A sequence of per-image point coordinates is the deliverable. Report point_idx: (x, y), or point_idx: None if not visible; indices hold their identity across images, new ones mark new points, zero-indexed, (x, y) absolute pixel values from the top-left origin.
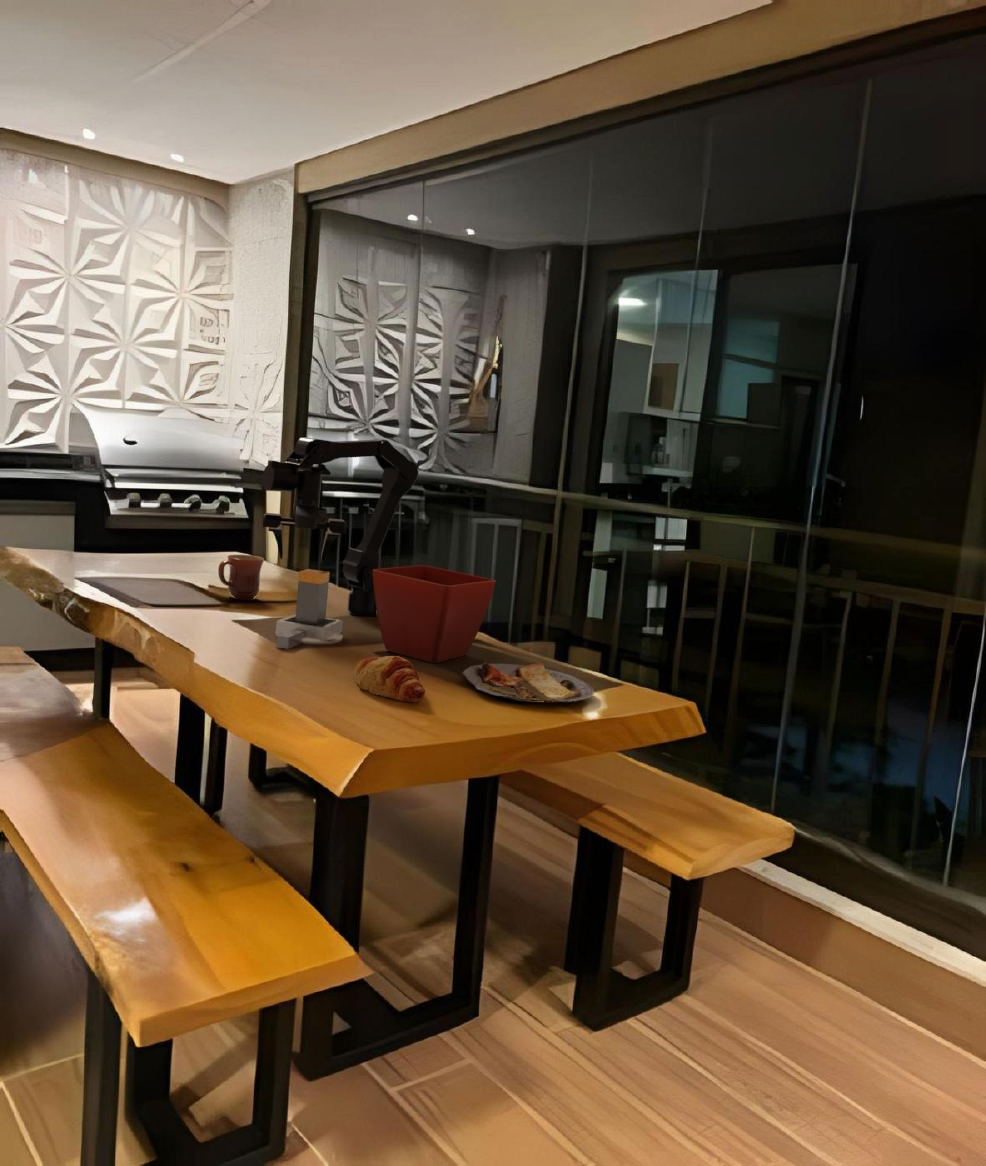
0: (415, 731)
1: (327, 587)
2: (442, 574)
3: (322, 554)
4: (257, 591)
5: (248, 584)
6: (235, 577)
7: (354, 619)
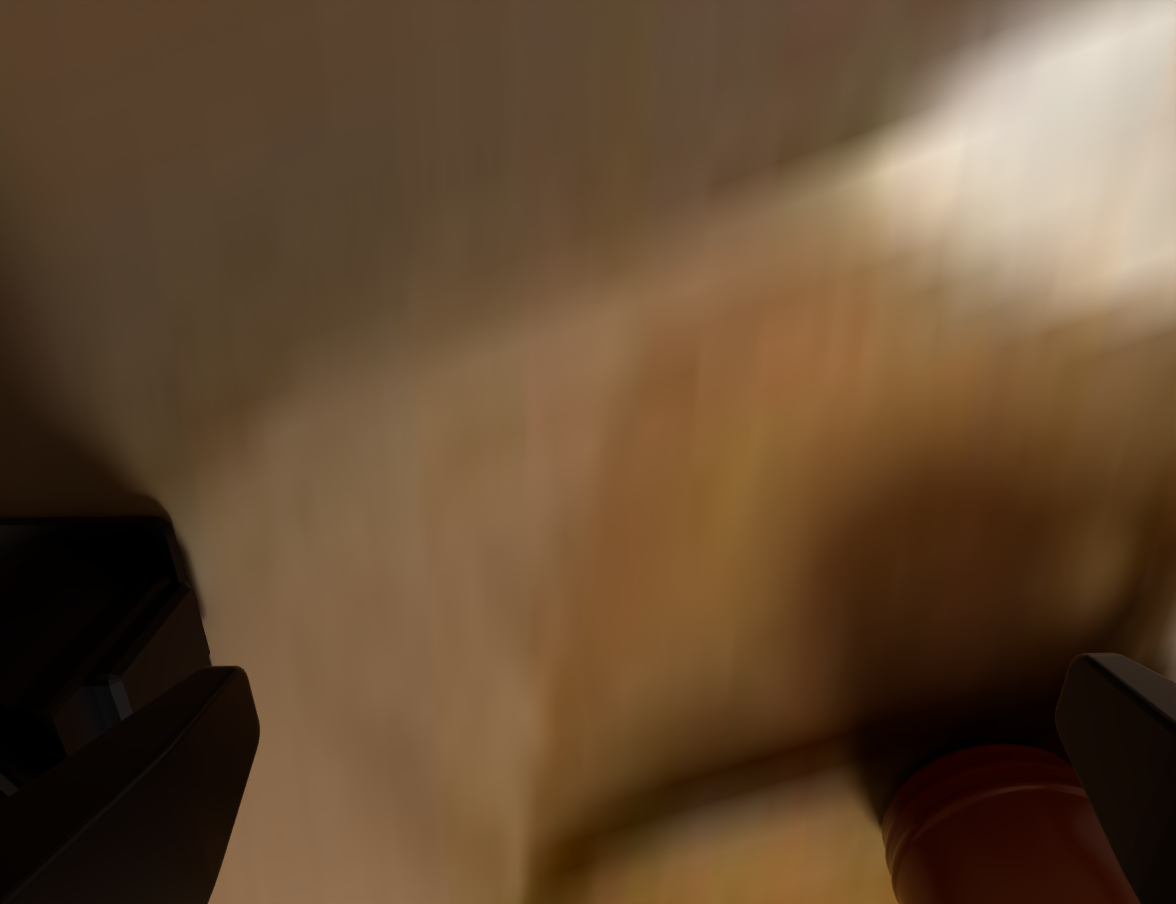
0: None
1: None
2: None
3: (126, 779)
4: (911, 829)
5: (1026, 838)
6: None
7: (108, 360)
